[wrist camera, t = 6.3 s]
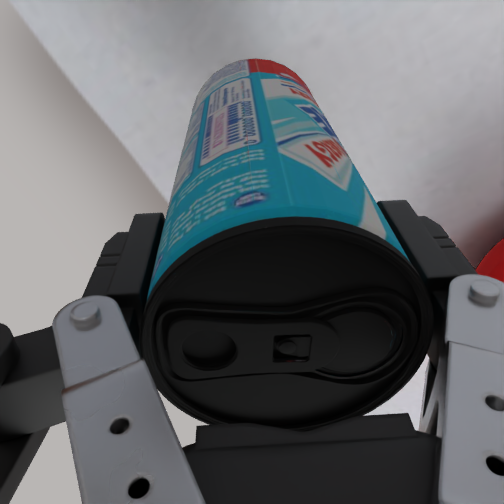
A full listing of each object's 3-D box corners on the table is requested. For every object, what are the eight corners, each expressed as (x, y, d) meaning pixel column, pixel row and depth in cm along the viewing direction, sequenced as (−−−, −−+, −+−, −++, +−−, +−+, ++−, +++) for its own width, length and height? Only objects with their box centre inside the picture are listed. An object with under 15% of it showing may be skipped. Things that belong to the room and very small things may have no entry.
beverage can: (296, 184, 23) (374, 446, 11) (185, 166, 22) (131, 427, 10) (329, 69, 20) (492, 252, 8) (201, 42, 19) (148, 199, 7)
